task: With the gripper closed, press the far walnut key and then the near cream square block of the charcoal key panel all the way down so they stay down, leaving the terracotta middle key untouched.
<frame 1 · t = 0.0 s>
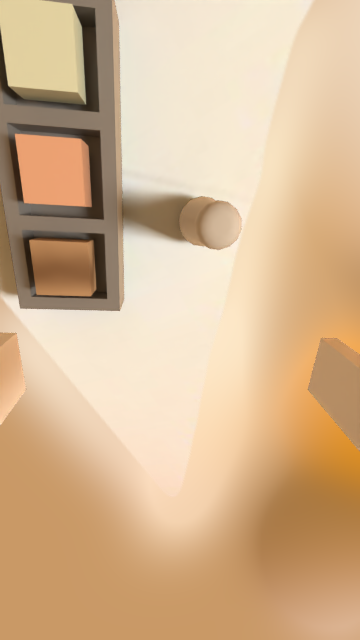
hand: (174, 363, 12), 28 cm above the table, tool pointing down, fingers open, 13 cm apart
terracotta key: (57, 173, 29), point 5 cm above the table, slide at 0.0 cm
key panel: (71, 179, 34), on the table
walnut key: (65, 266, 32), point 5 cm above the table, slide at 0.0 cm
salt shaker: (199, 221, 37), on the table
cream square block: (46, 55, 26), point 5 cm above the table, slide at 0.0 cm
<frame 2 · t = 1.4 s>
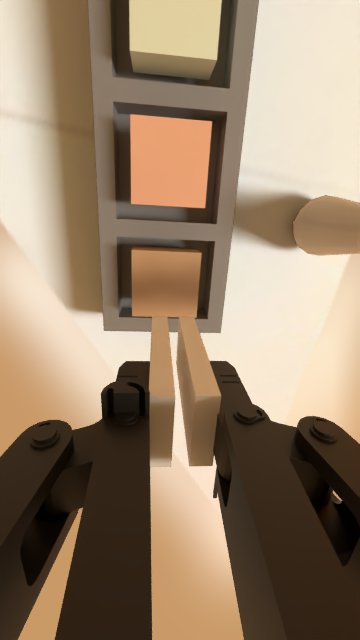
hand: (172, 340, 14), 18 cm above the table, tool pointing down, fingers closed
terracotta key: (169, 167, 23), point 5 cm above the table, slide at 0.0 cm
key panel: (167, 174, 28), on the table
walnut key: (165, 281, 27), point 5 cm above the table, slide at 0.0 cm
salt shaker: (309, 225, 31), on the table
cream square block: (174, 12, 20), point 5 cm above the table, slide at 0.0 cm
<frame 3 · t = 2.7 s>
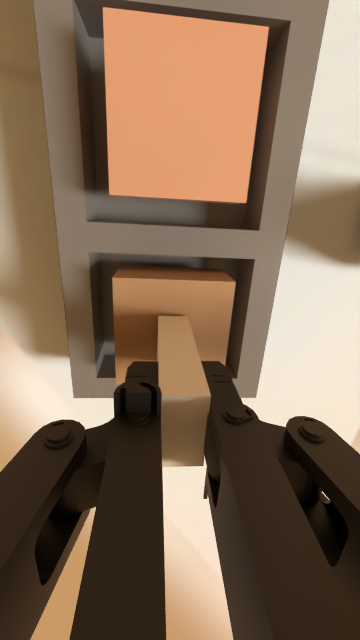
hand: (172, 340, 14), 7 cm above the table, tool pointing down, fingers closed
terracotta key: (180, 127, 13), point 5 cm above the table, slide at 0.0 cm
key panel: (173, 150, 18), on the table
walnut key: (171, 324, 16), point 5 cm above the table, slide at 0.0 cm, touching gripper
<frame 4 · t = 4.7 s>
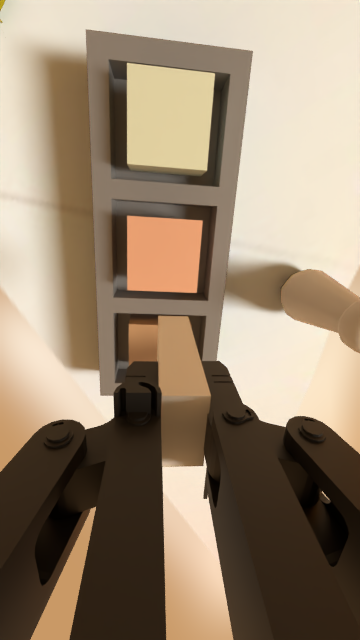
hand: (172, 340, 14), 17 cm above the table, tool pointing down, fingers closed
terracotta key: (163, 254, 25), point 5 cm above the table, slide at 0.0 cm
key panel: (161, 248, 30), on the table
walnut key: (159, 346, 29), point 4 cm above the table, slide at 1.3 cm
salt shaker: (296, 290, 33), on the table
cream square block: (168, 127, 22), point 5 cm above the table, slide at 0.0 cm
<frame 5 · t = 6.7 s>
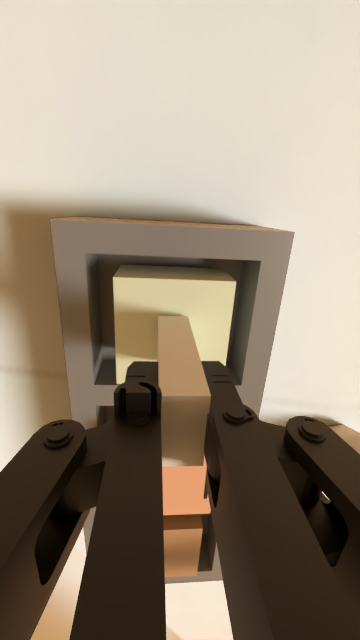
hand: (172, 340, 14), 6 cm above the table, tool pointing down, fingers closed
terracotta key: (166, 461, 19), point 5 cm above the table, slide at 0.0 cm
key panel: (164, 408, 24), on the table
walnut key: (161, 533, 24), point 4 cm above the table, slide at 1.3 cm
salt shaker: (329, 439, 27), on the table
cream square block: (171, 323, 16), point 4 cm above the table, slide at 0.9 cm
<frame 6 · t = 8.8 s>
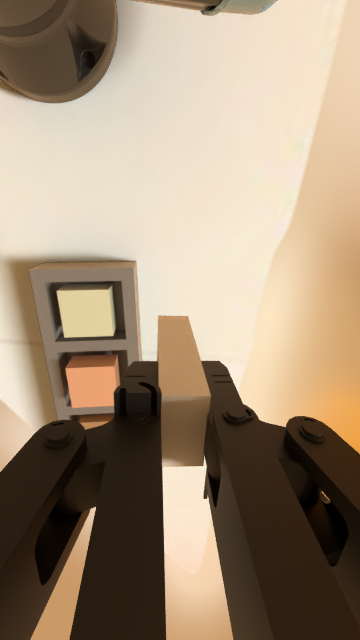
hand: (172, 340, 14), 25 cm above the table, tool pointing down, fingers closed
terracotta key: (95, 380, 38), point 5 cm above the table, slide at 0.0 cm
key panel: (102, 361, 43), on the table
walnut key: (103, 430, 42), point 4 cm above the table, slide at 1.3 cm
cream square block: (88, 310, 36), point 4 cm above the table, slide at 1.3 cm
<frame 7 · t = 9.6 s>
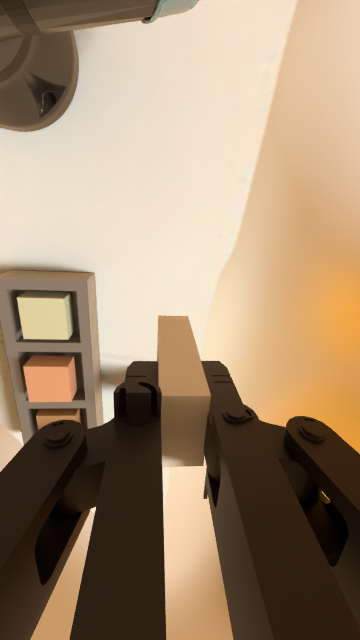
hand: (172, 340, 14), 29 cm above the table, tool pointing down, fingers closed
terracotta key: (51, 378, 42), point 5 cm above the table, slide at 0.0 cm
key panel: (63, 360, 47), on the table
walnut key: (61, 423, 46), point 4 cm above the table, slide at 1.3 cm
cream square block: (47, 315, 40), point 4 cm above the table, slide at 1.3 cm
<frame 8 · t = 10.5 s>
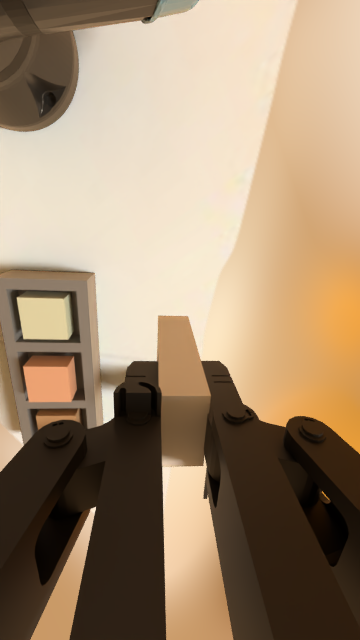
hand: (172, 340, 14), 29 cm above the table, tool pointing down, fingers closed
terracotta key: (51, 378, 42), point 5 cm above the table, slide at 0.0 cm
key panel: (63, 360, 47), on the table
walnut key: (60, 423, 46), point 4 cm above the table, slide at 1.3 cm
cream square block: (47, 315, 40), point 4 cm above the table, slide at 1.3 cm
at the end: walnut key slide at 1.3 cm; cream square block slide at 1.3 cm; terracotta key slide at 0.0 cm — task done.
